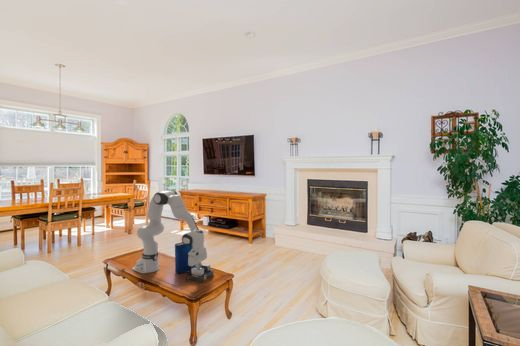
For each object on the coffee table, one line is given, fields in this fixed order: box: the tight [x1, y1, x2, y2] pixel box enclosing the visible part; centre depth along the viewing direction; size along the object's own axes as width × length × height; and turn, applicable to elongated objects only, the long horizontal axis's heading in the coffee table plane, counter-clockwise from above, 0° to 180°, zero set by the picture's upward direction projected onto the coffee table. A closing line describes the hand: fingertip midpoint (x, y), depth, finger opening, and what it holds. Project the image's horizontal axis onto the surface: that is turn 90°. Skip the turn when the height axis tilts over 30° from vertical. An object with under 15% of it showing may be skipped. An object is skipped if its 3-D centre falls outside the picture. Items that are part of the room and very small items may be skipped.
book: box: [174, 241, 196, 275], centre depth 223 cm, size 22×7×25 cm, turn 126°
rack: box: [187, 262, 215, 284], centre depth 210 cm, size 13×16×9 cm
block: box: [190, 267, 204, 277], centre depth 206 cm, size 9×4×9 cm, turn 68°
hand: (197, 268), depth 206 cm, fingers closed
